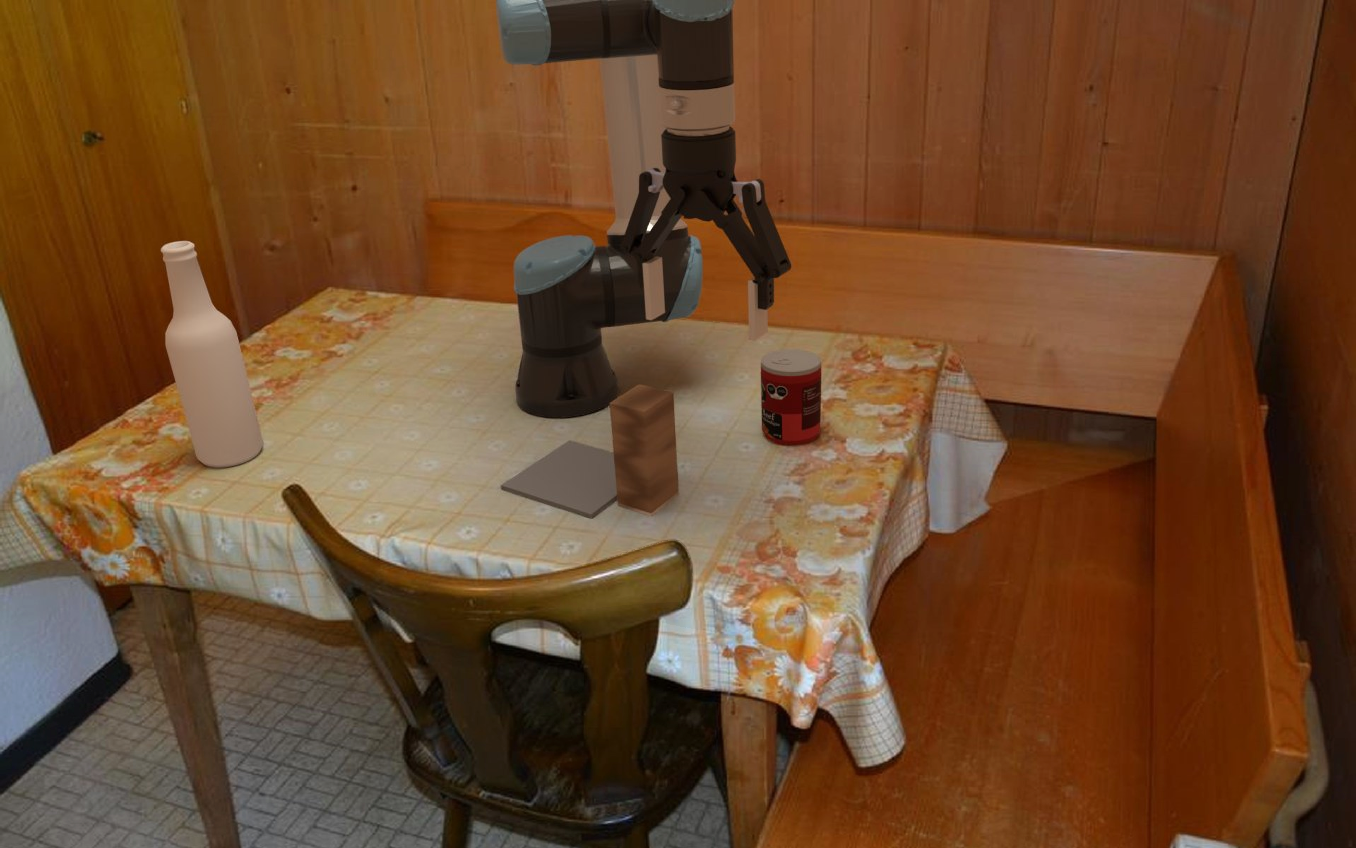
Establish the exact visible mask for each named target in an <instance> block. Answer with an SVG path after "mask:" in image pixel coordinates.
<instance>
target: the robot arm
mask: <svg viewBox="0 0 1356 848" xmlns="http://www.w3.org/2000/svg"><path fill="white" fill-rule="evenodd" d="M734 4H735V0H495V7H496V8H495V9H496V19H497V29H498V36H499V44H500V48H501V49H500V50H501V53H502V57H503V58H502V59H503V60H504V61H505V62H506V63H507V64H509V65H513V66H514V65H530V66H531V65H532V66H535V67H536V66H541V65H543V64H551V63H552V64H553V63H563V62H564V63H565V62H573V61H574V62H575V61H585V60H597V59H599V65H600V74H601V83H602V84H601V85H602V95H603V102H604V105H603V106H604V114H605V115H604V116H605V122H606V123H605V124H606V132H607V133H606V134H607V143H608V144H607V145H608V154H609V163H610V173H611V174H610V175H611V184H612V192H613V204H614V211H615V212H614V213H615V220H614V222H613V223H612V224H611V225H610V227H609V228H608V229H607V231H606V238H607V239H606V240H607V244H606V245H600V246H596V243H594V240H593V239H592V238H591V237H589V236H587V235H582V234H581V235H580V234H579V235H573V234H570V235H569V234H568V235H561V236H555V237H551V238H547V239H544V240H540V241H538V242H536V243H534V244H531V245H530V246H528V247H526V248H525V249H523V250H522V251H520V253H518V255H517V256H516V258H515V260H514V263H513V278H514V279H513V280H514V284H513V290H514V291H513V292H514V294H516V300H517V301H516V302H517V313H518V320H519V321H518V322H519V329H520V331H519V332H520V338H521V339H520V340H521V346H522V354H521V357H520V361H519V362H520V364H519V368H518V373H517V379H516V382H515V388H514V389H515V397H516V404H517V405H518V406H519V408H520V409H521V410H523V411H524V412H527V413H528V414H532V415H535V416H539V417H545V418H546V417H547V418H570V417H579V416H583V415H588V414H592V413H594V412H595V413H596V412H597V411H599V410H602V409H604V408H606V407H608V406H610V402H612V401H613V400H615V399H617V398H618V394H619V389H618V388H619V387H618V378H617V375H616V373H615V371H614V369H613V368H612V367H611V363H610V360H609V358H608V354H607V353H606V350H605V348H604V345H603V339H602V329H604V328H605V329H606V328H612V327H614V328H615V327H623V326H624V327H625V326H629V325H639V324H647V323H656V322H662V323H667V322H669V321H672V320H678V319H679V320H680V319H685V318H688V317H690V316H692V315H693V314H694V312H695V311H696V310H697V308H698V305H699V303H700V300H701V293H702V289H703V288H702V287H703V276H704V275H703V273H704V272H703V271H704V270H703V269H704V268H703V267H704V265H703V263H704V262H703V255H702V245H701V242H700V239H699V238H698V237H696V236H694V235H691V234H690V235H689V228H688V224H687V223H686V222H685V221H684V220H686V219H687V220H692V219H698V220H700V221H702V222H708V223H709V222H713V223H714V225H715V226H716V227H717V228H718V229H721V230H722V231H723V232H724V234H725V236H726V237H727V238H728V240H729V241H730V243H731V244H732V247H734V249H735V250H736V252H737V254H739V256H740V258H741V260H742V261H743V262H744V264H745V265H746V267H747V268H748V270H749V271H750V273H751V274H752V276H753V277H752V278H751V279H748V280H747V295H748V296H747V299H748V300H747V301H748V302H747V303H748V340H750V341H754V342H756V341H757V340H758V339H759V338H761V337H762V336H764V335H766V334H767V333H768V331H769V329H768V328H769V327H768V326H769V325H768V309H771V307H772V306H773V305H774V302H775V279H779V277H782V276H783V275H785V274H786V273H788V272H790V270H791V269H792V263H791V260H790V259H789V255H788V253H787V250H786V249H785V245H784V244H783V241H782V239H781V236H780V233H779V231H778V228H777V226H776V224H775V222H774V219H773V216H772V213H771V212H770V209H769V207H768V204H767V201H766V193H765V185H764V181H763V180H762V179H761V178H756V179H753V180H751V181H738V179H737V176H736V174H735V167H736V162H737V145H736V140H737V139H736V130H735V129H734V128H733V127H732V125H733V124H734V122H736V106H735V105H736V100H735V98H736V97H735V79H734V74H735V73H734V71H735V69H734V67H735V66H734V65H735V64H734V22H733V21H734V19H733V18H734V17H733V13H734V10H733V8H734ZM736 196H737V197H738V202H739V203H740V204H743V210H744V213H745V216H746V219H747V221H748V223H749V226H750V227H749V226H748V224H747V223H746V221H745V220H744V218H743V213H742V210H741V208H740V207H739V206H738V204H737V203H736V201H735V200H734V199H735V197H736ZM725 212H726V213H727V214H725ZM682 217H683V219H684V220H683V219H682Z"/></svg>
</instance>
